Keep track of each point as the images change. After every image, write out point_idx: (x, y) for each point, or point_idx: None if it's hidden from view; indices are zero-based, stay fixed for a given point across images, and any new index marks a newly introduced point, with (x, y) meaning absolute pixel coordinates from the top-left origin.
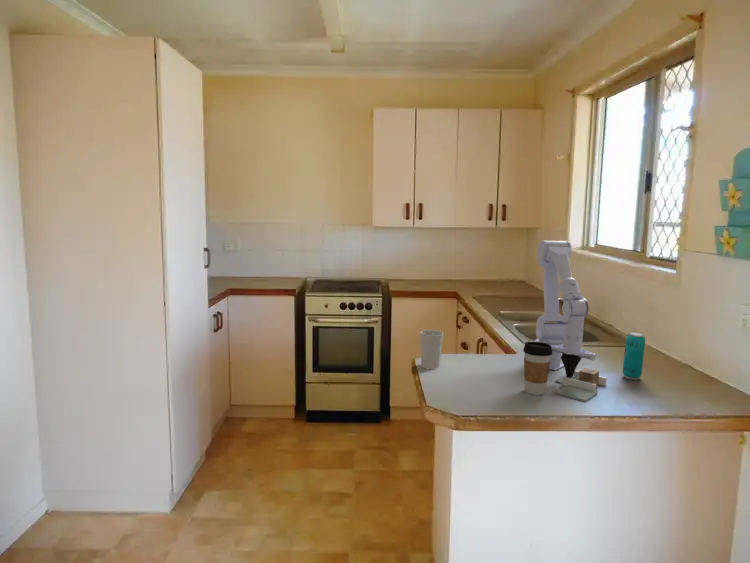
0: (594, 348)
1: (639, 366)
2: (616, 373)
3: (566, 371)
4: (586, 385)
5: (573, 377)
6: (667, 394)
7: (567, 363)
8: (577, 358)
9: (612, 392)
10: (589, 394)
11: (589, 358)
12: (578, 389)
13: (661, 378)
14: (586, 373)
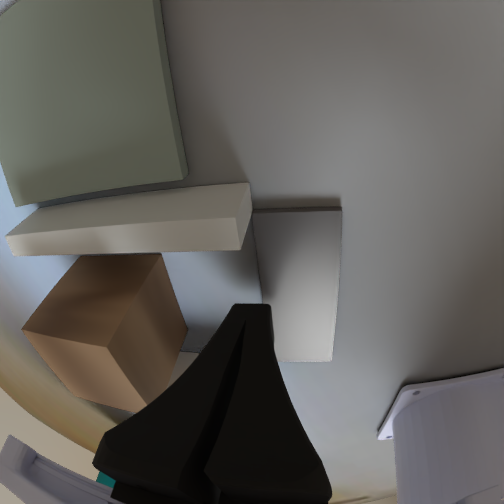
0: (340, 498)
1: None
2: None
3: (260, 339)
4: (50, 222)
5: None
6: (14, 359)
7: (228, 414)
8: (105, 474)
9: (33, 284)
10: (4, 132)
11: (40, 462)
12: (77, 152)
13: None
14: (60, 331)
